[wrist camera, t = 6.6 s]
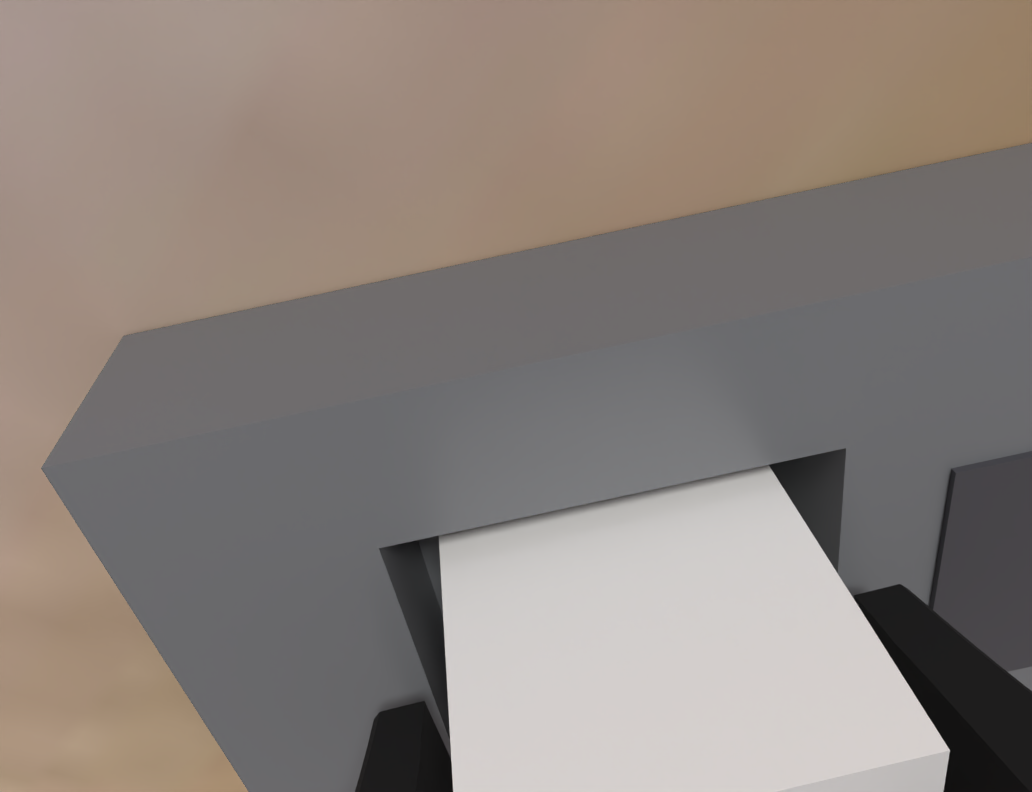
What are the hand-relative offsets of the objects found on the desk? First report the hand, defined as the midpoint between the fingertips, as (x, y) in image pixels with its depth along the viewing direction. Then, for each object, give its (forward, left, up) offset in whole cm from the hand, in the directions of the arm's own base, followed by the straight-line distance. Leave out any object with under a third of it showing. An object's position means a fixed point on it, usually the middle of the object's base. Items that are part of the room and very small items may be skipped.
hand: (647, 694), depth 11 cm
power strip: (-5, 0, -4) cm, 6 cm away
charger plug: (0, 0, -3) cm, 3 cm away
